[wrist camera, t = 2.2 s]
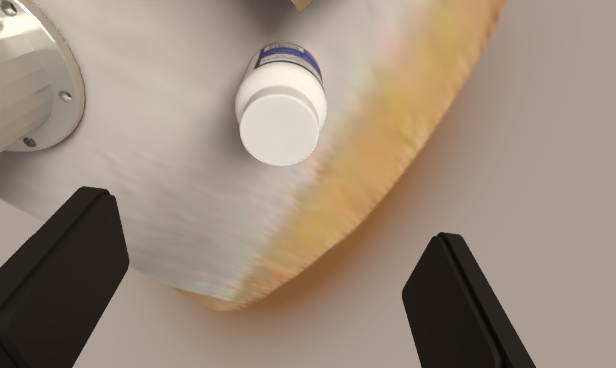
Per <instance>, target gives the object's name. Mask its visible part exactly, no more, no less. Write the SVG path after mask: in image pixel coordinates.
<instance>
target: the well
mask: <svg viewBox="0 0 616 368" xmlns="http://www.w3.org/2000/svg"><path fill="white" fill-rule="evenodd" d="M291 1H292V2H293V4H294V5H295V6H296V8H297V9H298V10H299V12H301V11H302V10H303V9H304V8H305V7H306V6H307V5H308V4H309V3H311V2H312V1H313V0H291Z"/></svg>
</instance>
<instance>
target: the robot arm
mask: <svg viewBox="0 0 616 368" xmlns="http://www.w3.org/2000/svg"><path fill="white" fill-rule="evenodd" d="M84 102H85V96H84V86H83V81H82V78H81V75H80V71H79V68H78V65H77V63H76V61H75V59H74V57H73V55H72V53H71V51H70V49H69V47H68V46H67V44H66V43H65V42H64V40H63V39H62V37H61V36H60V34H59V33H58V31H57V30H56V29H55V27H54V26H53V25H52V24H51V23H50V22H49V21H48V19H47V18H46V17H45V16H44V15H43V14H42V13H41V11H40V10H38V9H37V8H36V7H35V6H34V5H33V4H32V3H31V2H30V1H28V0H0V153H1V152H2V151H4V150H6V151H15V152H30V151H38V150H42V149H46V148H49V147H51V146H53V145H55V144H57V143H59V142H61V141H62V140H63V139H64V138H66V137H67V136H68V135H70V134H71V133H72V131H73V130H74V129H75V128H76V127H77V125H78V124H79V121H80V119H81V117H82V114H83V110H84ZM128 266H129V256H128V252H127V247H126V243H125V238H124V234H123V229H122V225H121V220H120V216H119V211H118V207H117V202H116V198H115V196H113V195H110V193H109V191H108V190H107V189H102V188H94V187H86V186H83V187H81V188H79V189H78V190H77V191H76V192H75V193H74V194H73V195H72V196H71V197H70V198H69V199H68V200H67V201H66V202H65V203H64V204H63V205H62V206H61V207H60V208H59V209H58V210H57V211H56V212H55V213H54V215H53V216H52V217H51V218H50V219H49V220H48V221H47V222H46V223H45V224H44V225H43V226H42V227H41V228H40V229H39V230H38V231H37V232H36V233H35V234H34V235H32V236H31V237H30V238H29V239H28V240H27V241H26V242H25V243H24V244H23V245H22V246H21V247H20V248H19V249H18V250H17V251H16V253H14V254H13V255H12V256H11V257H10V258H9V259H8V261H7V262H6V263H5V264H4V265H3V266H2V267H1V268H0V368H72V367H73V365H74V363H75V361H76V360H77V358H78V356H79V355H80V353H81V351H82V349H83V347H84V346H85V344H86V342H87V340H88V339H89V337H90V335H91V333H92V332H93V330H94V328H95V326H96V325H97V323H98V321H99V319H100V317H101V316H102V314H103V312H104V310H105V309H106V307H107V305H108V303H109V302H110V300H111V298H112V296H113V294H114V293H115V291H116V289H117V288H118V285H119V284H120V282H121V281H122V279H123V277H124V275H125V273H126V272H127V269H128ZM402 300H403V303H404V307H405V310H406V314H407V318H408V321H409V325H410V328H411V332H412V335H413V339H414V342H415V346H416V349H417V353H418V356H419V360H420V363H421V367H422V368H536V366H535V365H534V363H533V361H532V359H531V358H530V356H529V354H528V352H527V351H526V349H525V347H524V345H523V344H522V342H521V340H520V338H519V336H518V335H517V333H516V331H515V329H514V328H513V326H512V324H511V322H510V320H509V319H508V317H507V315H506V313H505V312H504V310H503V308H502V306H501V304H500V303H499V301H498V299H497V297H496V296H495V294H494V292H493V290H492V288H491V287H490V285H489V283H488V281H487V279H486V278H485V276H484V274H483V272H482V271H481V269H480V267H479V265H478V263H477V262H476V260H475V258H474V256H473V255H472V253H471V251H470V250H469V247H468V246H467V244H466V242H465V241H464V239H463V237H462V236H460V235H459V234H451V233H444V232H440V233H439V234H438V235H437V236H434V237H432V239H431V240H430V242H429V244H428V245H427V247H426V249H425V251H424V253H423V254H422V256H421V258H420V260H419V261H418V263H417V265H416V267H415V269H414V270H413V272H412V274H411V276H410V277H409V279H408V281H407V283H406V284H405V286H404V288H403V291H402Z"/></svg>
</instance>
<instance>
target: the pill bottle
mask: <svg viewBox="0 0 616 368" xmlns="http://www.w3.org/2000/svg"><path fill="white" fill-rule="evenodd" d="M235 113H236V118H237V121H238V123H239V126H240V127H239V130H240V137H241V140H242V143H243V145H244V147H245V148H246V149H247V151H248V152H249V153H250V154H251V155H252V156H253V157H254V158H256V159H257V160H259V161H261V162H263V163H265V164H268V165H272V166H290V165H294V164H296V163H299V162H301V161H302V160H304V159H305V158H307V157H308V156H309V155H310V154H311V152H312V151H313V150H314V148H315V146H316V144H317V141H318V137H319V134H320V132H321V130H322V129H323V126H324V124H325V121H326V117H327V100H326V94H325V90H324V86H323V81H322V76H321V72H320V68H319V65H318V63H317V61H316V59H315V58H314V56H313V55H312V54H311V53H310V52H309V51H308V50H307V49H306V48H304V47H303V46H301V45H299V44H296V43H293V42H289V41H278V42H273V43H270V44H268V45H266V46H265V47H263V48H262V49H260V50H259V51H258V52H257V53H256V54H255V56H254V57H253V59H252V60H251V62H250V64H249V67H248V69H247V71H246V73H245V76H244V78H243V80H242V82H241V84H240V86H239V89H238V92H237V95H236V100H235Z"/></svg>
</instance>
